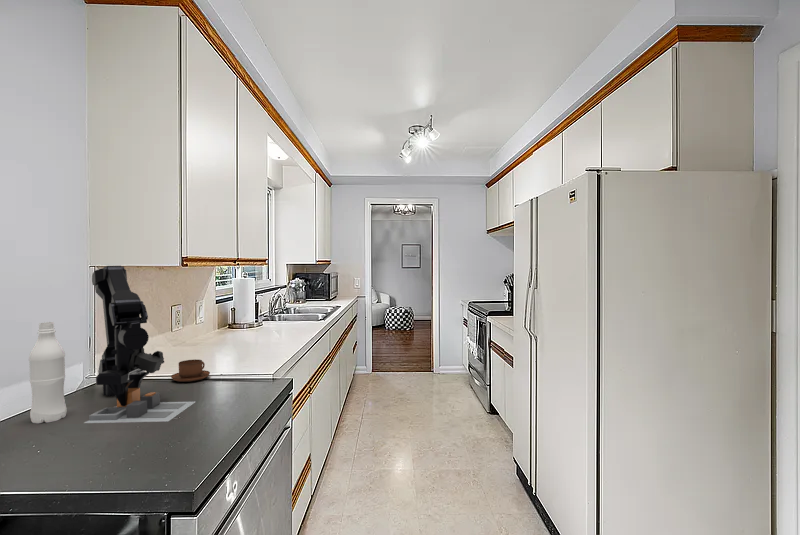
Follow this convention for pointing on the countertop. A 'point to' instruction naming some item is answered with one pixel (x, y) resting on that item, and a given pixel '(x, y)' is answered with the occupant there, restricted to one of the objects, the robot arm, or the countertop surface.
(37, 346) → the water bottle
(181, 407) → the panel
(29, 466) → the countertop surface
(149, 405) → the block
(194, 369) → the cup and saucer
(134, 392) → the cap
